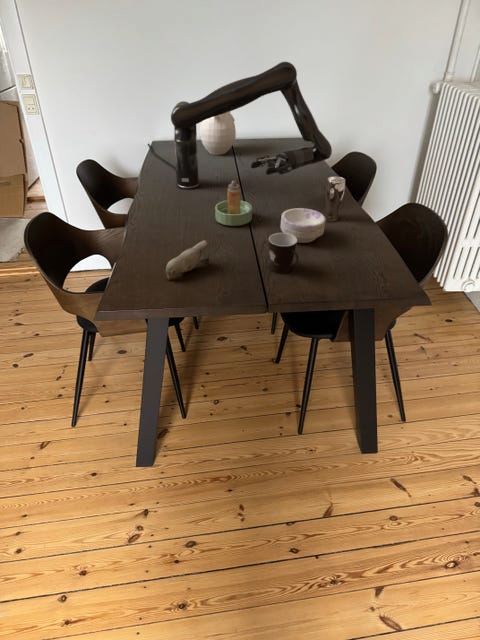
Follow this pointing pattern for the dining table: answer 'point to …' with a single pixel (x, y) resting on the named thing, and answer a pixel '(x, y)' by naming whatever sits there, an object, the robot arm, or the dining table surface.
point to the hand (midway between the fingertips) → (259, 168)
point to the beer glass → (333, 197)
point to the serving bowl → (233, 219)
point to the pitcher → (218, 133)
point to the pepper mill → (234, 198)
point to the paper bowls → (303, 224)
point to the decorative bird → (186, 260)
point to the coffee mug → (282, 252)
